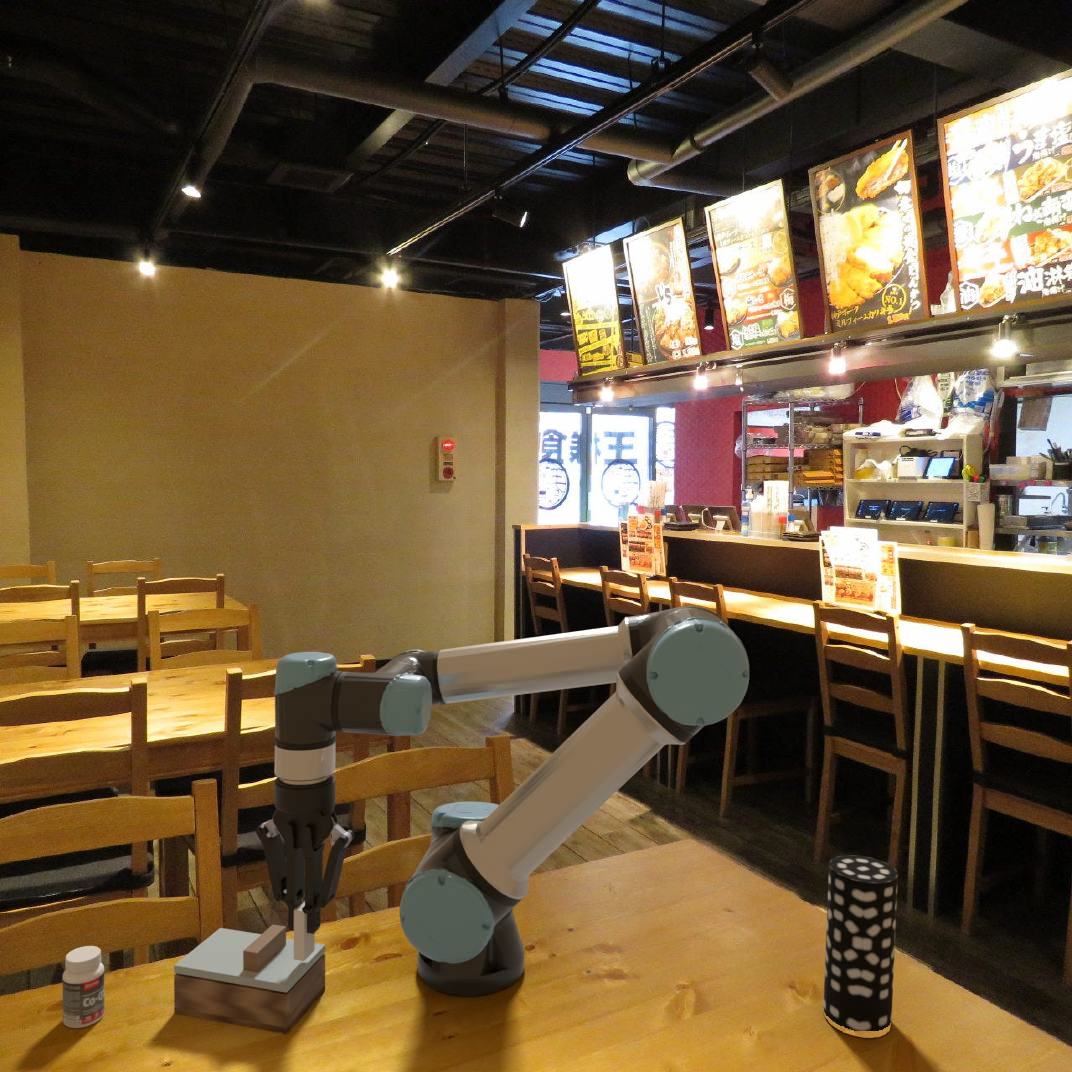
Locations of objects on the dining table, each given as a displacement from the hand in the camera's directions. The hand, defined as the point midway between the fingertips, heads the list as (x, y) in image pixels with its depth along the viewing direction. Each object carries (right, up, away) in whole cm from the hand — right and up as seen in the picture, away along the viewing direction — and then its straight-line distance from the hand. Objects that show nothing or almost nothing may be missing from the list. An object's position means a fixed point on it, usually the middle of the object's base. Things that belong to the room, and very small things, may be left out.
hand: (304, 954), depth 115 cm
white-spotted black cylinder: (+72, -9, +1) cm, 72 cm away
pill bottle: (-27, -7, -2) cm, 28 cm away
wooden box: (-7, -7, +2) cm, 11 cm away
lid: (-7, -2, +2) cm, 8 cm away
